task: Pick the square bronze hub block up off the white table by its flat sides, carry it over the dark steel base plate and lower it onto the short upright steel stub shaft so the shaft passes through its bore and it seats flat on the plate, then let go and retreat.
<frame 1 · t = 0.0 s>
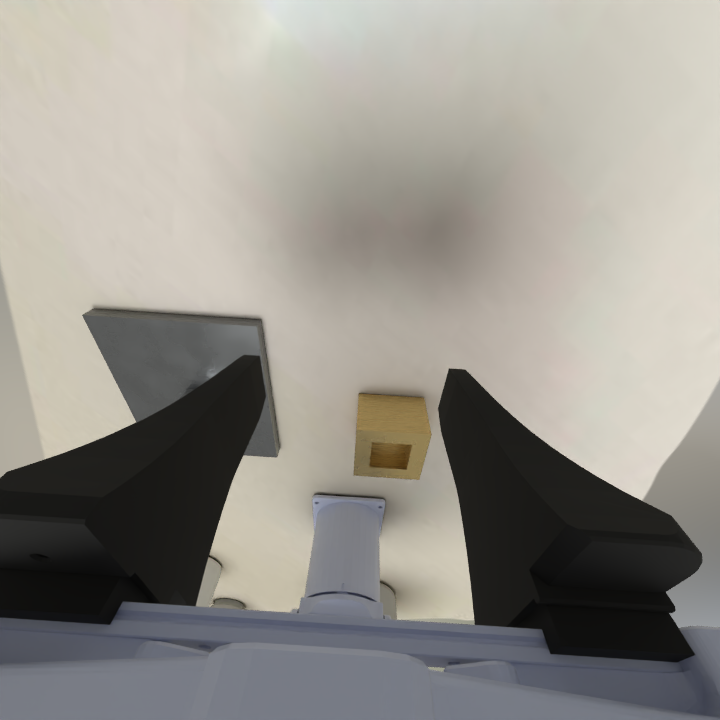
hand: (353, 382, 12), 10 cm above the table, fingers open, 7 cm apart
cylinder vase: (356, 590, 49), on the table
pill bottle: (196, 561, 45), on the table
hub: (388, 418, 27), on the table
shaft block: (200, 389, 26), on the table
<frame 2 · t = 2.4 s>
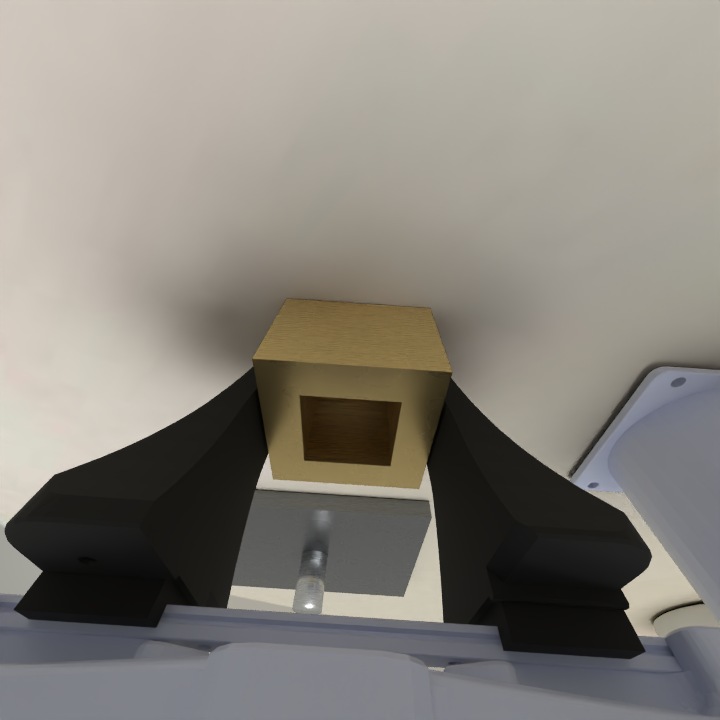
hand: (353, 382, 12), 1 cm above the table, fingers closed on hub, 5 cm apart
pill bottle: (698, 613, 28), on the table
hub: (355, 362, 13), on the table, touching gripper
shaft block: (316, 541, 22), on the table
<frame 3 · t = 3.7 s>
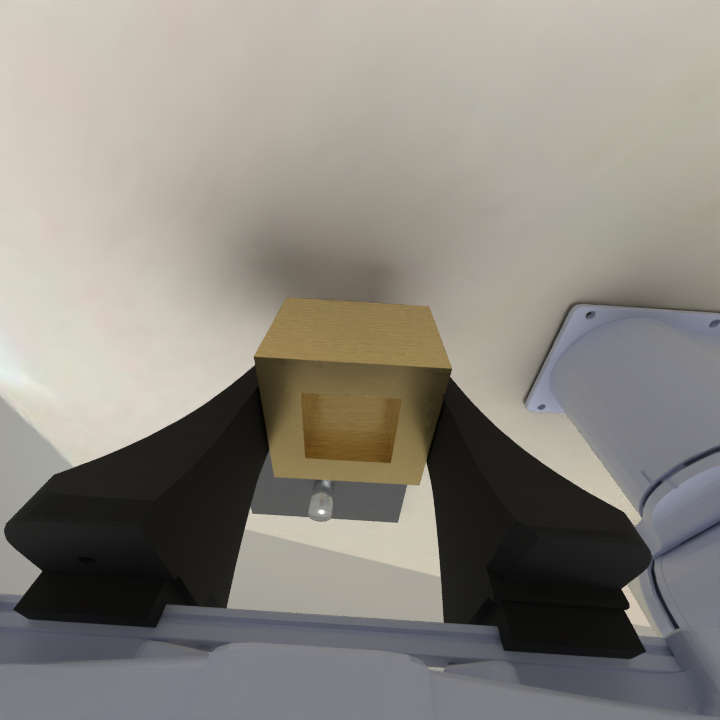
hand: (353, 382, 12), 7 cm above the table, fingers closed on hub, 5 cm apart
pill bottle: (648, 541, 33), on the table
hub: (354, 360, 13), point 6 cm above the table, touching gripper
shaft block: (326, 470, 27), on the table
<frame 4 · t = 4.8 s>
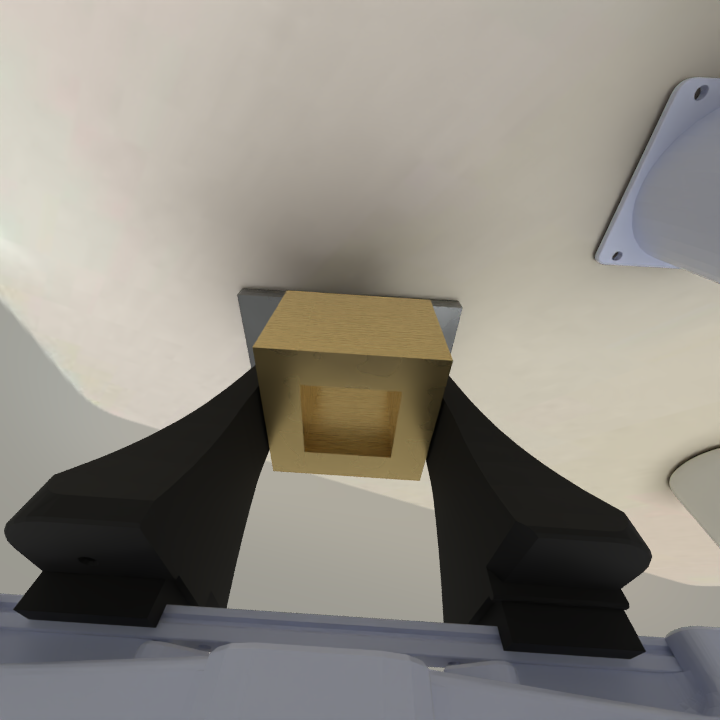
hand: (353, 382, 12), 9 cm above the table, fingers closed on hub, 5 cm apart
pill bottle: (714, 468, 28), on the table
hub: (355, 354, 13), point 8 cm above the table, touching gripper
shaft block: (348, 369, 23), on the table
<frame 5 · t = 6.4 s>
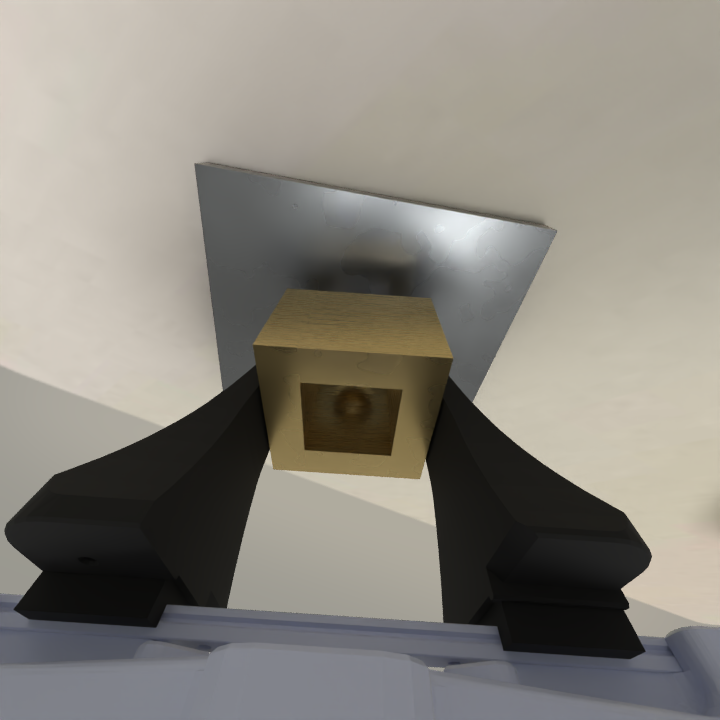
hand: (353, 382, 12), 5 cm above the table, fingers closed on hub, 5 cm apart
hub: (355, 353, 13), point 3 cm above the table, touching gripper
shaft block: (358, 324, 16), on the table
when the fingers open (4 cm above the table, at t = 7.6 s): hub drops 1 cm, resting on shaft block.
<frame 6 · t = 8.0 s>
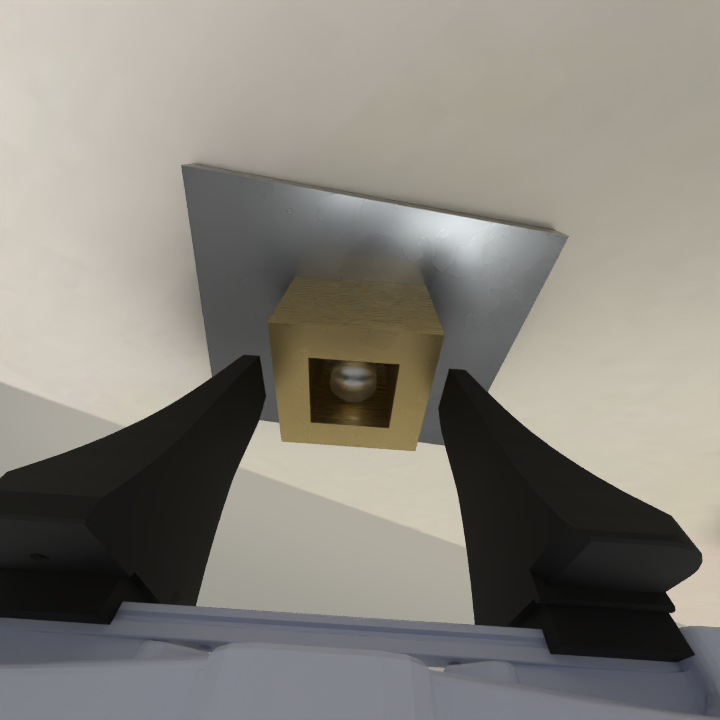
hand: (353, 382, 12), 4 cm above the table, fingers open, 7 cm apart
hub: (356, 338, 14), point 1 cm above the table, touching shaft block
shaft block: (357, 333, 15), on the table
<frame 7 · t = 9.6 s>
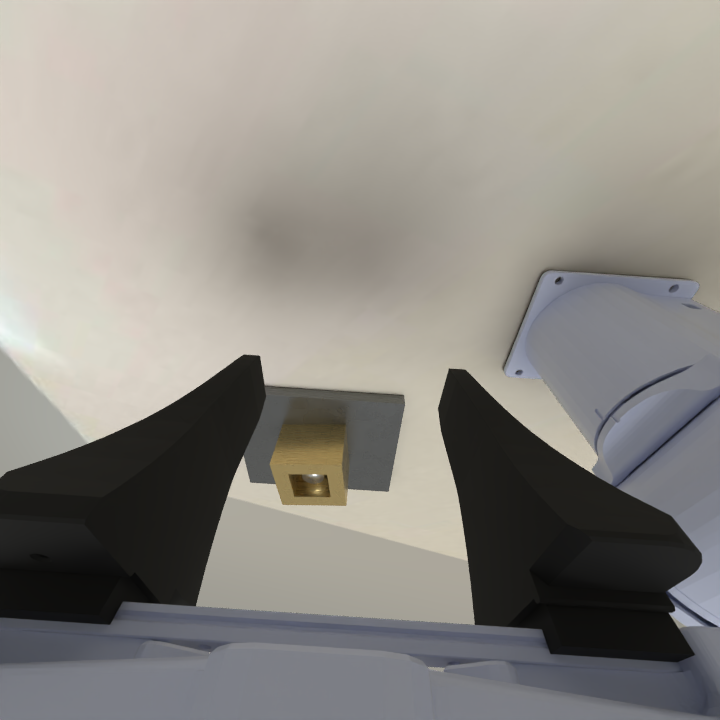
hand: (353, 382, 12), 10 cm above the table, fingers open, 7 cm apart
hub: (317, 445, 28), point 1 cm above the table, touching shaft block
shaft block: (319, 439, 29), on the table
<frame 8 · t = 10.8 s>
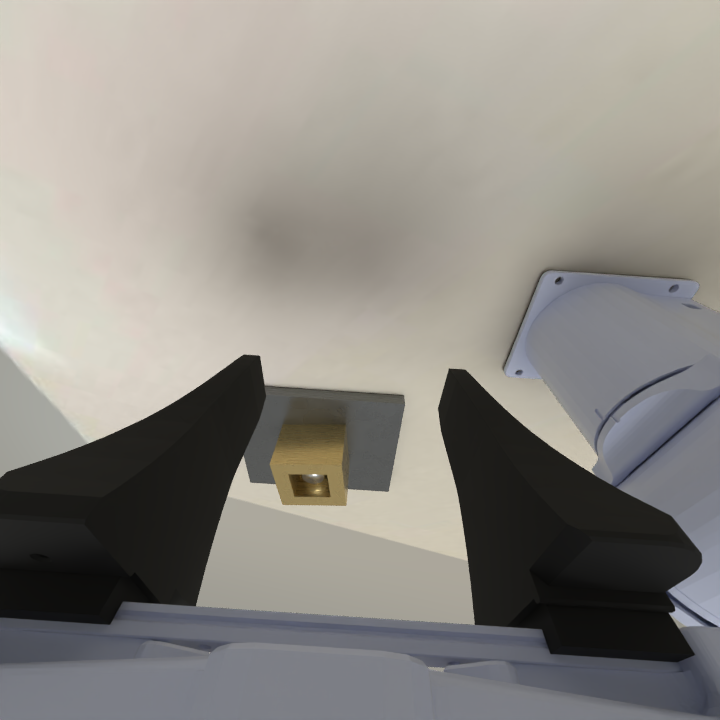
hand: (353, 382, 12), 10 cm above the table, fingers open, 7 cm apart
hub: (317, 445, 28), point 1 cm above the table, touching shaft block
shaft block: (319, 439, 29), on the table
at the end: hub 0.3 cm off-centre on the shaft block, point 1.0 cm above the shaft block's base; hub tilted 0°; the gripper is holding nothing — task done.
